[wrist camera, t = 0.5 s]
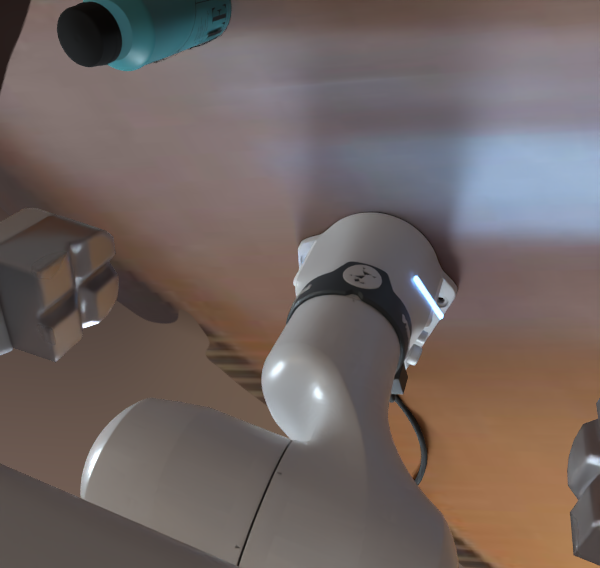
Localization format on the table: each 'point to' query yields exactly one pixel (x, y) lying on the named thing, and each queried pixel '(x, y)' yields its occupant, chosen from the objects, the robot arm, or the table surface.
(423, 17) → the table surface
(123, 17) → the beverage bottle
